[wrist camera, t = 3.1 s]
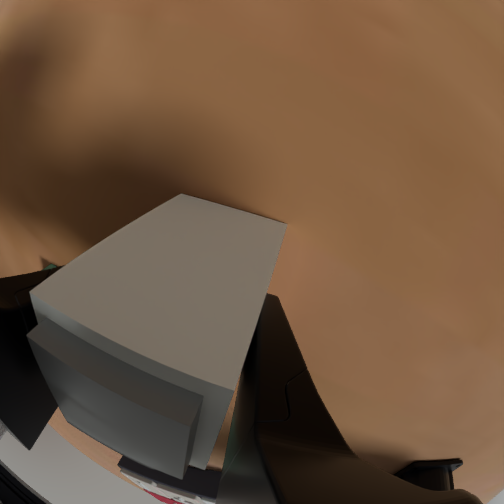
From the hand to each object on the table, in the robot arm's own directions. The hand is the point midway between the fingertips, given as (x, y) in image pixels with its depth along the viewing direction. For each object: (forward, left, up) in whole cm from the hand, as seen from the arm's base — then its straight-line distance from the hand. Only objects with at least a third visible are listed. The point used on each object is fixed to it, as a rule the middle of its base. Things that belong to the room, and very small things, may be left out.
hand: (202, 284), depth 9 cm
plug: (0, 0, -2) cm, 2 cm away
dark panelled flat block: (-2, +29, -3) cm, 29 cm away
